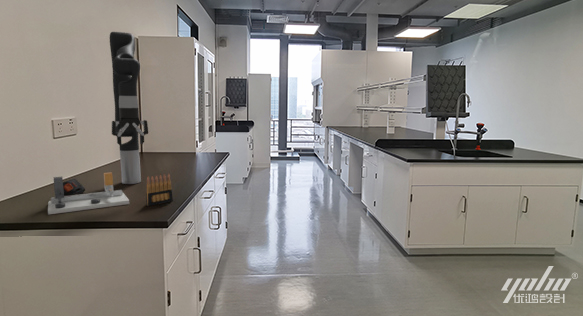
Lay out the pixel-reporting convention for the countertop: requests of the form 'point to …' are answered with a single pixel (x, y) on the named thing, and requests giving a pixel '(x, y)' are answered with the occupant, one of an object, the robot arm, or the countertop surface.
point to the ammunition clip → (158, 190)
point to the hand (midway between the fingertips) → (131, 144)
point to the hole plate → (87, 204)
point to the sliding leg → (108, 183)
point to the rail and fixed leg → (61, 198)
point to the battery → (72, 187)
